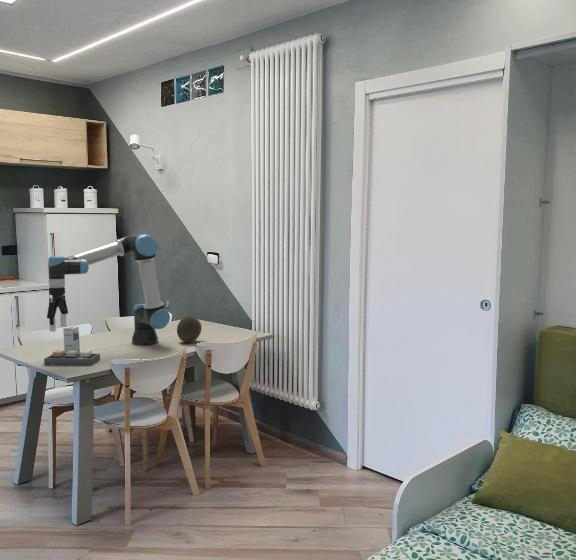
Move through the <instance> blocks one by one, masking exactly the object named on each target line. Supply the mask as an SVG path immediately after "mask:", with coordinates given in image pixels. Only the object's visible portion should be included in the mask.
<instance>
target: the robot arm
mask: <svg viewBox="0 0 576 560" xmlns="http://www.w3.org/2000/svg"><path fill="white" fill-rule="evenodd" d="M157 250H158V242H157V240H156V239H155V238H154V237H153V236H152V235H149V234H145V233H133V234H132V233H131V234H129V235H127V236H123V237H122V238H118V239H116V240H115V241H114V242H111V243H109V244H106V245H103V246H100V247H96V248H94V249H90V250H87V251H83V252H80V253H78V254H77V253H76V254H74V255H71V256H68V257H65V256H61V255H57V256H55V255H52V256H49V257H48V260H47V261H48V263H47V267H48V281H47V282H48V286H49V288H48V294H49V295H50V296H51V298H49V300H48V307H47V313H46V314H47V315H46V318H47V319H49V320H48V321H49V332H56V331H57V329H56V318H55V317H56V314H57V310H59V312H60V314H59V315H60V316H59V317H60V319H59V320H60V321H59V322H60V327H61V328H62V327H63V328H66V327H67V315H68V313H69V310H68V305H67V300H66V287H65V286H66V277H65V276H67V275H85V274H88V272H89V266H90V265H94V264H96V263H100V262H103V261H106V260H108V259H112V258H115V257H118V256H120V257H123V256H127V255H128V256H129V255H133V256H134V262H136V263H137V264H138V269H139V273H140V274H139V275H140V280H141V286H142V291H143V296H144V301H145V303H140V304H139V303H137V304H135V305H134V306H133V316H134V319H133V320H134V323H133V324H134V330H133V335H132V337H131V344H133V345H138V346H147V345H154V344H157V343H159V337H158V334H157V331H156V330H161V329H164V328H166V327H167V326H168V325H169V323H170V320H171V316H170V312H169V311H168V310H167V309H166V307H165V303H164V301H162V300H161V294H160V288H159V283H158V277H157V271H156V266H155V259H156V257H157V256H156V253H157Z"/></svg>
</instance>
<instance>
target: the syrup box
mask: <svg viewBox="0 0 576 560" xmlns="http://www.w3.org/2000/svg"><path fill="white" fill-rule="evenodd" d="M79 330H80V329H79V326H77V325H76V326H75V325H73V326H66V327H63V328H62V332H63V345H64V346H63V348H64V350H63V351H65V353H67V352H68V351H78V353H80V352H81V350H80V331H79Z"/></svg>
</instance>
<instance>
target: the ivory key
mask: <svg viewBox="0 0 576 560" xmlns="http://www.w3.org/2000/svg"><path fill="white" fill-rule="evenodd" d="M79 353H80V357H89V356H91V355H92V353H93V352H92V350H82V351H80V352H79Z"/></svg>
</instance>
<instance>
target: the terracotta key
mask: <svg viewBox="0 0 576 560" xmlns="http://www.w3.org/2000/svg"><path fill="white" fill-rule="evenodd" d="M52 354H53V356H63V355H65V351H64V350H60V349H59V350H55V351H53V352H52Z"/></svg>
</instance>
